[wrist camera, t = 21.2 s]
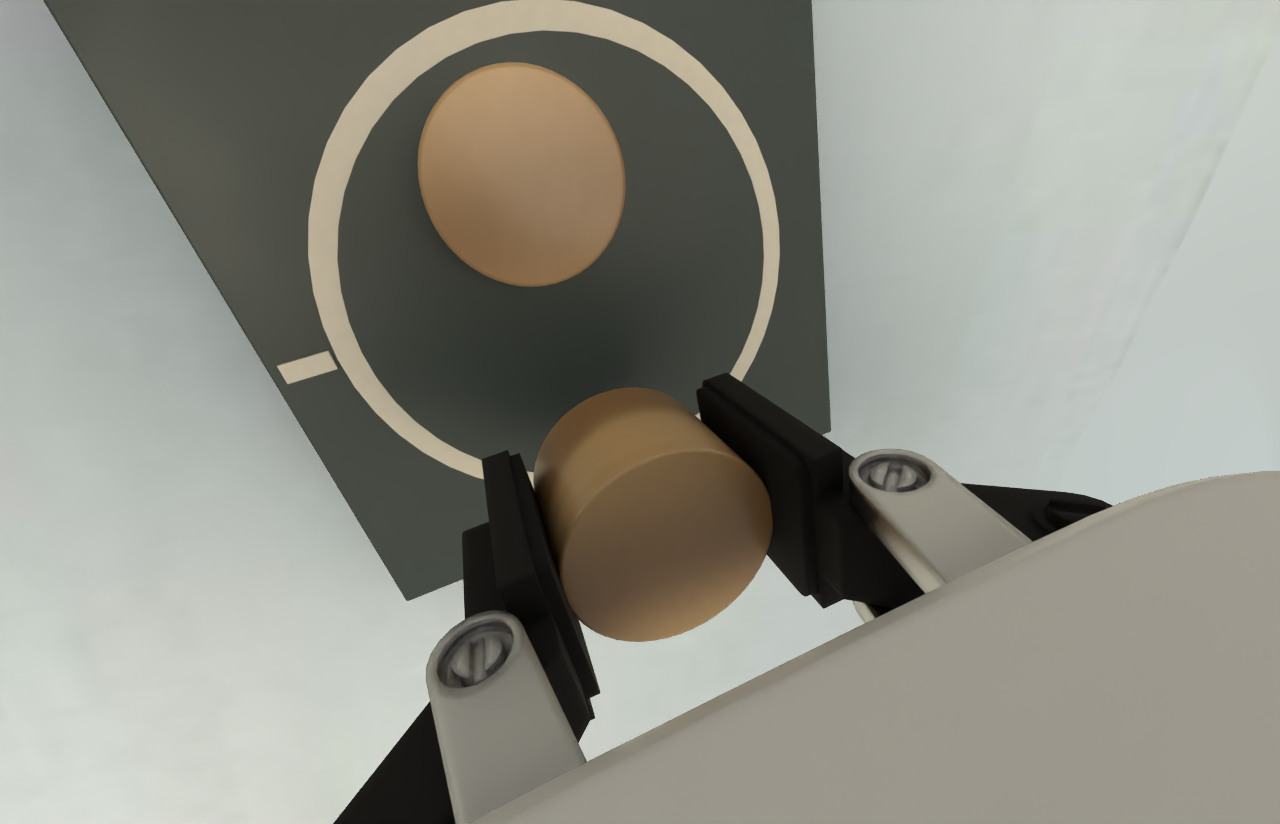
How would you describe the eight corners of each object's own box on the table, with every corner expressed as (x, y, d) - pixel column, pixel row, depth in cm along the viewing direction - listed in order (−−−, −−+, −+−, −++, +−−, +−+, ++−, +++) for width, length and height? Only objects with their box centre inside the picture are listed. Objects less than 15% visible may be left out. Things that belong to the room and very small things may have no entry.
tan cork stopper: (506, 424, 10) (526, 505, 8) (688, 362, 11) (762, 415, 8) (563, 569, 12) (594, 676, 9) (715, 507, 13) (783, 588, 10)
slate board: (59, -13, 10) (15, -36, 9) (782, -116, 13) (811, -142, 12) (408, 581, 17) (406, 606, 16) (815, 421, 20) (834, 433, 19)
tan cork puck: (394, 108, 11) (378, 85, 9) (566, 72, 12) (600, 42, 9) (461, 286, 13) (465, 311, 10) (607, 244, 14) (644, 258, 11)
